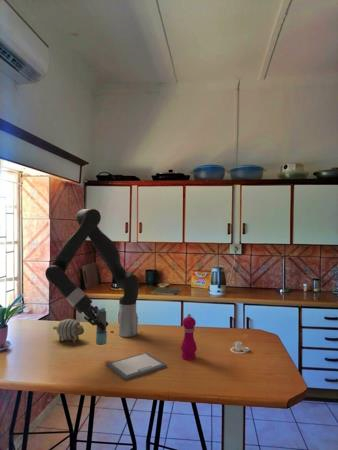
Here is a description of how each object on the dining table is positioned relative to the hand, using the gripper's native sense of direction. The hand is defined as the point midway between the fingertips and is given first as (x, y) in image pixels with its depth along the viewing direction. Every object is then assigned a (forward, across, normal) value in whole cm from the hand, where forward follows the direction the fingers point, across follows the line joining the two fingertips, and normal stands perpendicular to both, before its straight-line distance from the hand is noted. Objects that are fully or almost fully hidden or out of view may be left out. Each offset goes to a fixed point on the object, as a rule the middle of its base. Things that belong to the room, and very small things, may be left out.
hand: (105, 327), depth 143 cm
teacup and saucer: (+55, +12, -33) cm, 65 cm away
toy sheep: (-7, +20, +27) cm, 35 cm away
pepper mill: (+37, +4, -16) cm, 40 cm away
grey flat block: (+21, -7, -1) cm, 22 cm away
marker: (+4, 0, +6) cm, 7 cm away
